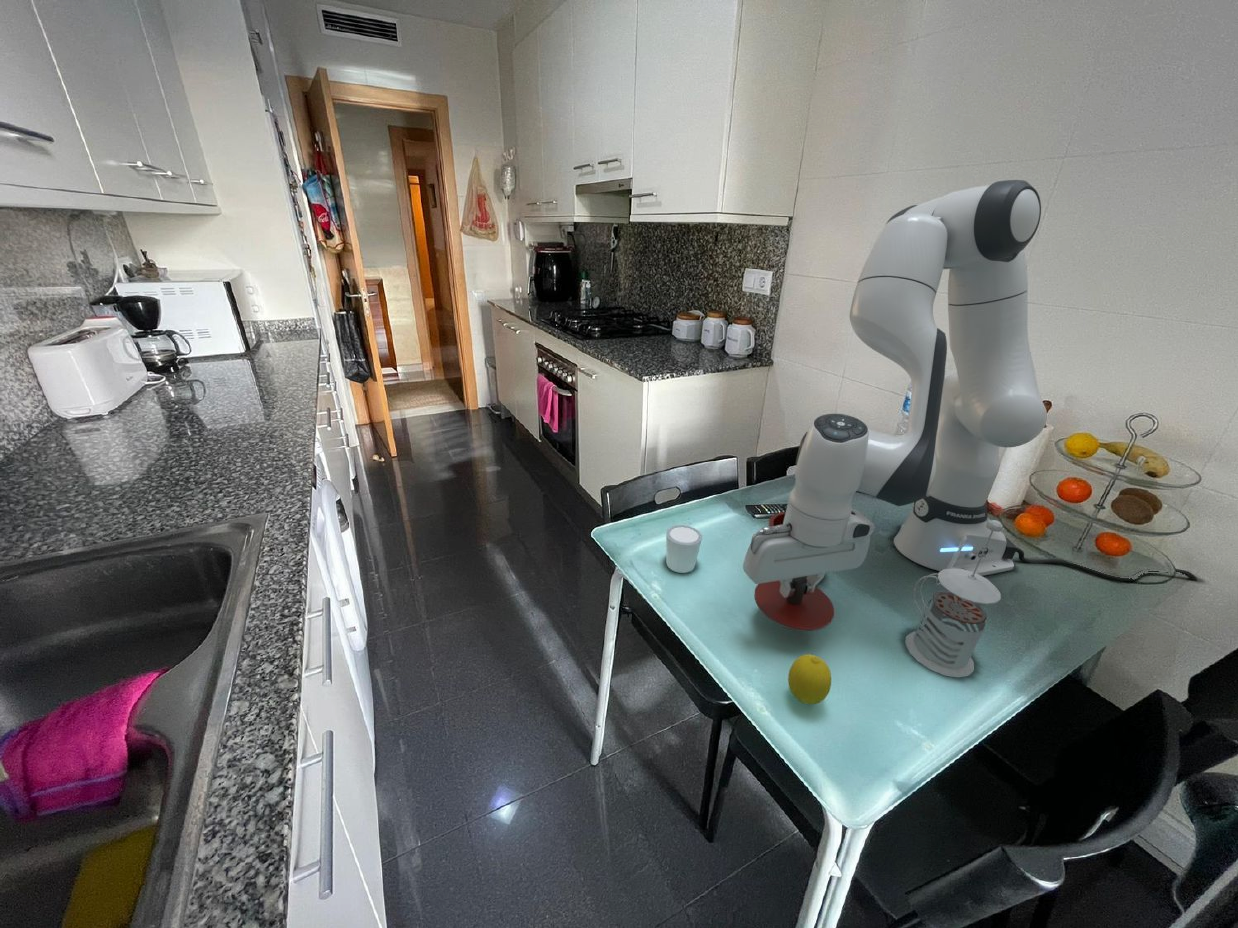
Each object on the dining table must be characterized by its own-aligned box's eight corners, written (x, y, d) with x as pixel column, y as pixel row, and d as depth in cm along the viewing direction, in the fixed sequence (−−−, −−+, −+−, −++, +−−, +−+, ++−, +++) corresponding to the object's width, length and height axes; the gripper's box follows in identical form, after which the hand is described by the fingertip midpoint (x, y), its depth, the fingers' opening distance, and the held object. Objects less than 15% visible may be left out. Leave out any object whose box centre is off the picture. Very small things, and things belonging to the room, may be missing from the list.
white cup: (657, 557, 100) (660, 528, 97) (686, 550, 103) (690, 522, 100) (673, 578, 95) (677, 547, 92) (704, 570, 97) (709, 540, 94)
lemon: (826, 720, 68) (841, 678, 65) (785, 712, 69) (796, 670, 66) (820, 687, 73) (833, 647, 70) (781, 680, 74) (792, 640, 71)
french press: (947, 685, 75) (1011, 547, 64) (882, 632, 84) (929, 504, 74) (988, 666, 79) (1056, 533, 68) (922, 617, 88) (972, 493, 77)
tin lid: (802, 576, 90) (809, 550, 87) (849, 626, 79) (859, 598, 77) (740, 586, 86) (745, 560, 84) (780, 640, 76) (787, 611, 73)
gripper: (765, 540, 70) (749, 616, 76) (884, 525, 76) (860, 596, 82) (743, 517, 75) (730, 589, 81) (856, 504, 81) (835, 572, 87)
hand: (796, 592), depth 81 cm, fingers closed on tin lid, 2 cm apart
